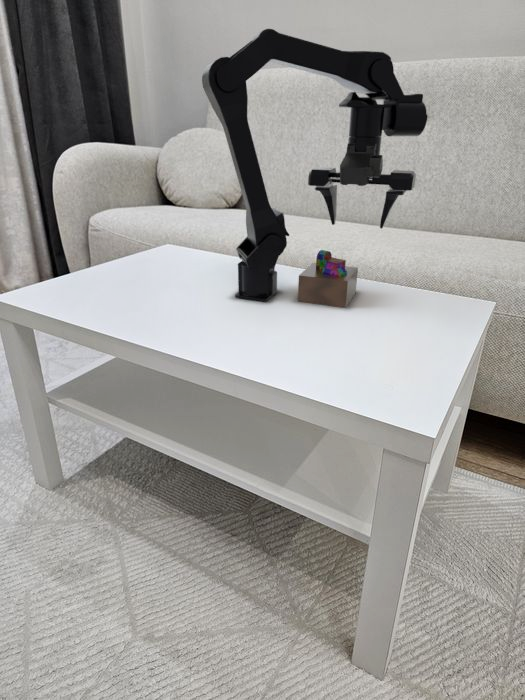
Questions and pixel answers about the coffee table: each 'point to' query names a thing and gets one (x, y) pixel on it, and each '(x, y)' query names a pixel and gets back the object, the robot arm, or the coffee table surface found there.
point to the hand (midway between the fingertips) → (357, 226)
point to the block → (330, 264)
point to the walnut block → (327, 287)
